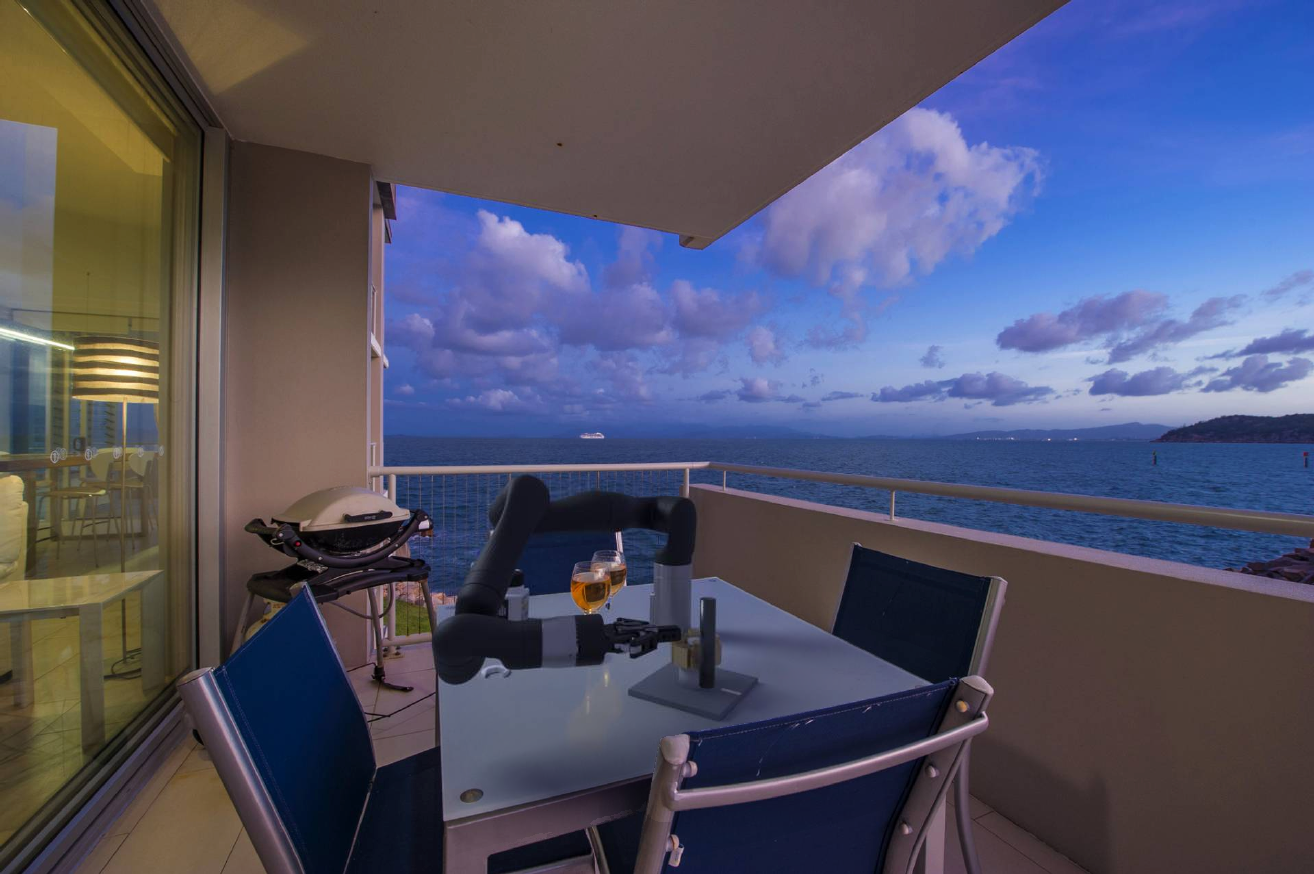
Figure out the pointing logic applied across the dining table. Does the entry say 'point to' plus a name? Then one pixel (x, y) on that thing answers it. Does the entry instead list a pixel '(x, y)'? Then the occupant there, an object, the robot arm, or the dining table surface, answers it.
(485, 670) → the wrench
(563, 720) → the dining table surface
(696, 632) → the black bar with brass
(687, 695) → the slate plate
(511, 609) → the container
